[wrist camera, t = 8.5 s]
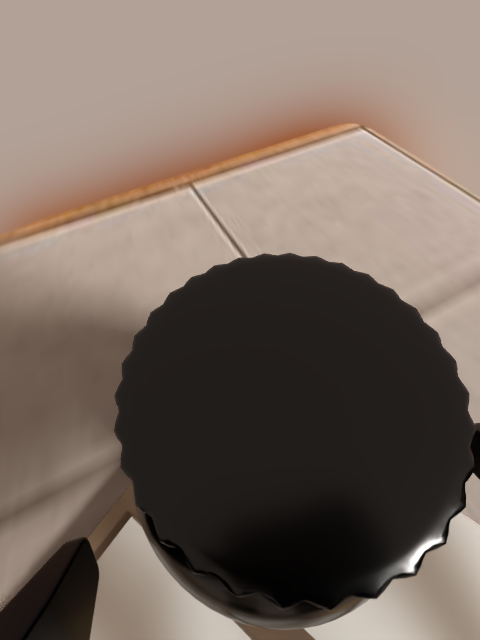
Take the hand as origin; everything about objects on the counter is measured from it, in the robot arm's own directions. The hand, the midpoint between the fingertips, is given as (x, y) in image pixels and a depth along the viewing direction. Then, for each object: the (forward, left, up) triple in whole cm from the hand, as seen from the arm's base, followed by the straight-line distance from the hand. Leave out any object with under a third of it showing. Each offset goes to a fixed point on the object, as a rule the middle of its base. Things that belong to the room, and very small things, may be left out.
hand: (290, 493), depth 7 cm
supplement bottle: (+1, +1, -8) cm, 8 cm away
